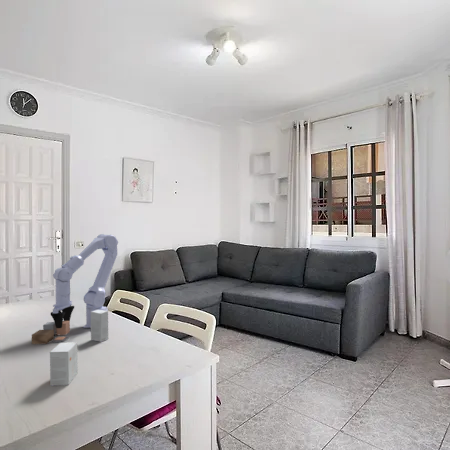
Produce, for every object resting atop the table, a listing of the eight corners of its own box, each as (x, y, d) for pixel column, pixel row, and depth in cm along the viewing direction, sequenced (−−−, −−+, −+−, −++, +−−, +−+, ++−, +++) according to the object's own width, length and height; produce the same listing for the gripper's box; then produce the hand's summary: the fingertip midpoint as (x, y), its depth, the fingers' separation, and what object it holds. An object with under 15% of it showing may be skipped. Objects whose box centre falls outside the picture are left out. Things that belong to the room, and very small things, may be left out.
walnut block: (54, 339, 141) (53, 329, 141) (46, 344, 135) (46, 334, 135) (39, 339, 141) (39, 329, 141) (31, 344, 135) (31, 334, 135)
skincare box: (108, 338, 141) (108, 310, 140) (101, 342, 137) (100, 313, 137) (98, 336, 143) (97, 309, 143) (90, 340, 139) (90, 311, 139)
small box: (60, 374, 109) (60, 342, 109) (78, 373, 109) (77, 341, 109) (49, 386, 101) (49, 352, 101) (68, 385, 101) (68, 351, 101)
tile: (68, 337, 142) (68, 335, 142) (63, 342, 137) (63, 340, 137) (56, 337, 142) (56, 336, 142) (51, 342, 137) (51, 340, 137)
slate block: (57, 333, 148) (56, 321, 148) (52, 336, 144) (52, 324, 144) (47, 333, 148) (47, 322, 148) (43, 336, 144) (43, 324, 144)
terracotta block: (69, 331, 150) (69, 320, 150) (65, 334, 146) (65, 323, 146) (60, 331, 150) (60, 320, 150) (56, 335, 146) (56, 323, 146)
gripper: (61, 291, 155) (61, 320, 155) (45, 298, 140) (45, 330, 140) (76, 291, 155) (76, 320, 155) (62, 298, 140) (62, 330, 141)
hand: (62, 325), depth 148 cm, fingers open, 7 cm apart
